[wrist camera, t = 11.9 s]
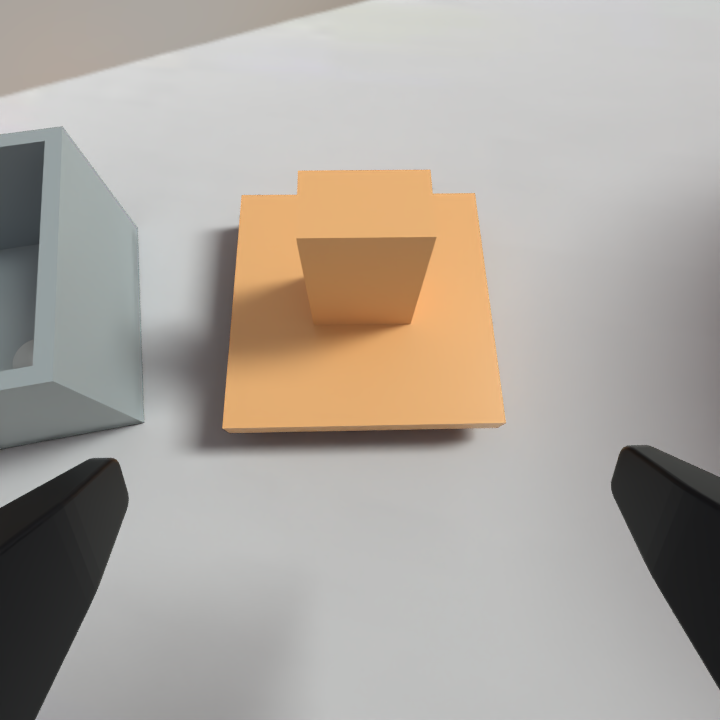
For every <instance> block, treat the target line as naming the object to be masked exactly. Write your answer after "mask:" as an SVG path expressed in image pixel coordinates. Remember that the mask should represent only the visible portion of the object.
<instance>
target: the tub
mask: <svg viewBox="0 0 720 720" xmlns="http://www.w3.org/2000/svg"><path fill="white" fill-rule="evenodd" d="M139 423H144V407H143V377H142V347H141V317H140V288H139V258H138V228H137V226H136V225H135V223H134V222H133V221H132V219H131V218H130V217H129V215H128V214H127V213H126V211H125V210H124V209H123V207H122V206H121V205H120V203H119V202H118V201H117V199H116V198H115V197H114V195H113V194H112V192H111V191H110V190H109V188H108V187H107V186H106V184H105V183H104V182H103V180H102V179H101V178H100V176H99V175H98V174H97V172H96V171H95V170H94V168H93V167H92V166H91V164H90V163H89V161H88V160H87V159H86V157H85V156H84V155H83V153H82V152H81V151H80V149H79V148H78V147H77V145H76V144H75V143H74V141H73V140H72V139H71V137H70V136H69V135H68V133H67V132H66V130H65V129H64V128H63V126H61V127H54V128H46V129H38V130H31V131H23V132H15V133H8V134H0V449H4V448H10V447H15V446H20V445H26V444H31V443H37V442H42V441H47V440H53V439H58V438H64V437H69V436H74V435H80V434H85V433H90V432H96V431H101V430H107V429H112V428H117V427H123V426H128V425H134V424H139Z"/></svg>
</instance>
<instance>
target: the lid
mask: <svg viewBox="0 0 720 720" xmlns="http://www.w3.org/2000/svg"><path fill="white" fill-rule="evenodd" d="M505 423H506V420H505V413H504V405H503V398H502V391H501V383H500V376H499V368H498V361H497V354H496V346H495V339H494V331H493V324H492V317H491V309H490V302H489V294H488V287H487V280H486V272H485V265H484V257H483V250H482V243H481V235H480V228H479V220H478V213H477V206H476V198H475V193H456V194H433V193H432V182H431V172H430V170H331V171H298V188H297V195H242V198H241V210H240V222H239V234H238V246H237V258H236V270H235V282H234V294H233V306H232V318H231V330H230V342H229V354H228V366H227V378H226V390H225V402H224V414H223V426H222V428H223V429H224V430H225V431H227V432H228V433H259V432H310V431H361V430H412V429H463V428H498V427H500V426H502V425H503V424H505Z"/></svg>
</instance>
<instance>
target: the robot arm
mask: <svg viewBox="0 0 720 720" xmlns="http://www.w3.org/2000/svg"><path fill="white" fill-rule="evenodd" d="M611 490H612V494H613V496H614V499H615V501H616V503H617V505H618V507H619V509H620V511H621V513H622V515H623V517H624V520H625V522H626V524H627V526H628V528H629V530H630V532H631V534H632V536H633V538H634V541H635V543H636V545H637V547H638V549H639V551H640V553H641V555H642V557H643V560H644V562H645V564H646V565H647V567H648V569H649V571H650V573H651V575H652V577H653V579H654V580H655V582H656V584H657V586H658V588H659V589H660V591H661V593H662V594H663V596H664V598H665V599H666V601H667V603H668V604H669V606H670V608H671V609H672V611H673V613H674V614H675V616H676V618H677V619H678V621H679V623H680V624H681V626H682V628H683V629H684V631H685V633H686V634H687V636H688V638H689V639H690V641H691V643H692V644H693V646H694V648H695V649H696V651H697V653H698V655H699V656H700V658H701V660H702V661H703V663H704V665H705V666H706V668H707V670H708V671H709V673H710V675H711V676H712V678H713V680H714V681H715V683H716V685H717V686H718V688H719V690H720V477H718V476H716V475H713V474H711V473H709V472H707V471H705V470H702V469H700V468H698V467H696V466H694V465H691V464H689V463H687V462H685V461H683V460H680V459H678V458H676V457H674V456H672V455H669V454H667V453H665V452H663V451H660V450H658V449H656V448H654V447H651V446H648V445H631V446H626V447H624V448H623V449H622V450H621V451H620V454H619V457H618V461H617V464H616V467H615V471H614V474H613V477H612V481H611ZM128 501H129V497H128V491H127V488H126V484H125V481H124V478H123V474H122V471H121V467H120V465H119V462H118V461H117V460H116V459H114V458H92V459H89V460H86V461H85V462H83V463H81V464H79V465H77V466H76V467H74V468H72V469H70V470H68V471H66V472H65V473H63V474H61V475H59V476H57V477H56V478H54V479H52V480H50V481H48V482H46V483H45V484H43V485H41V486H39V487H37V488H36V489H34V490H32V491H30V492H28V493H27V494H25V495H23V496H21V497H19V498H17V499H16V500H14V501H12V502H10V503H8V504H7V505H5V506H3V507H1V508H0V720H35V719H36V717H37V715H38V713H39V710H40V708H41V706H42V704H43V702H44V700H45V698H46V696H47V694H48V692H49V690H50V688H51V686H52V684H53V681H54V679H55V677H56V675H57V673H58V671H59V669H60V667H61V665H62V663H63V661H64V659H65V657H66V655H67V652H68V650H69V648H70V646H71V644H72V642H73V640H74V638H75V636H76V634H77V632H78V630H79V628H80V626H81V623H82V621H83V619H84V617H85V615H86V613H87V611H88V609H89V607H90V605H91V602H92V600H93V598H94V596H95V594H96V591H97V589H98V586H99V584H100V581H101V579H102V576H103V574H104V571H105V568H106V565H107V563H108V560H109V557H110V554H111V552H112V549H113V546H114V543H115V541H116V538H117V535H118V532H119V530H120V527H121V524H122V521H123V519H124V516H125V513H126V510H127V507H128Z"/></svg>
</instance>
